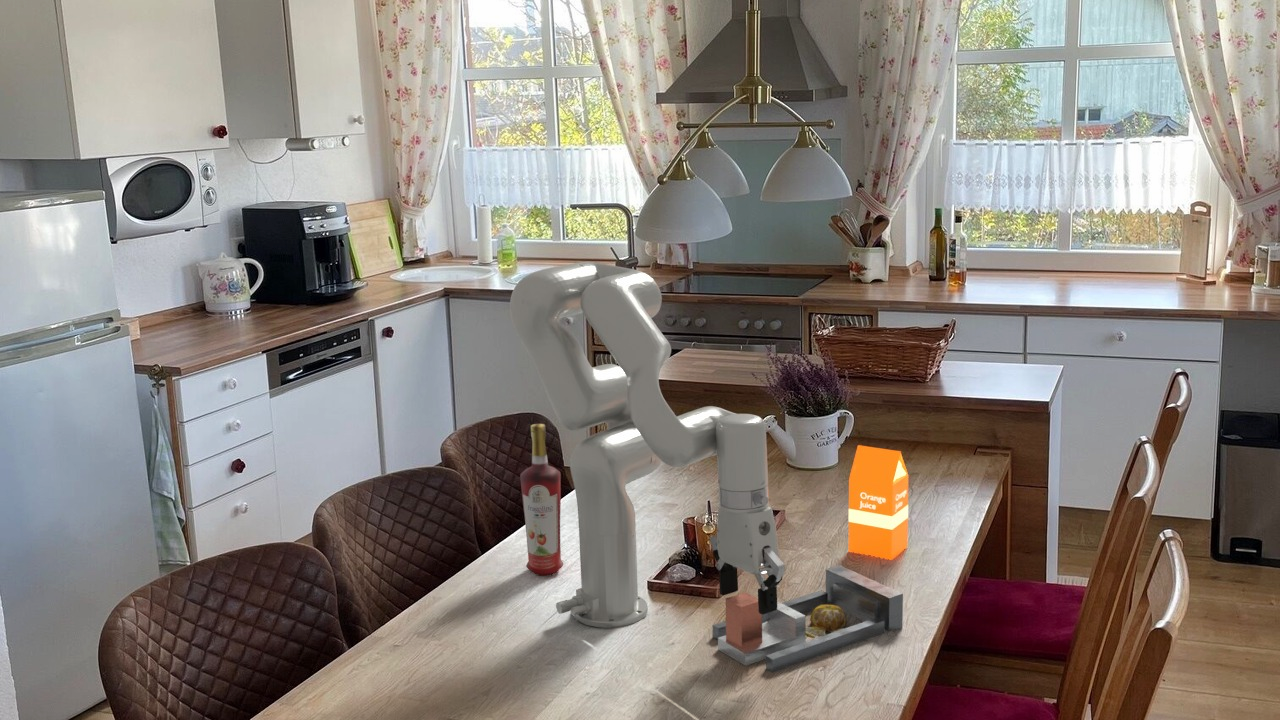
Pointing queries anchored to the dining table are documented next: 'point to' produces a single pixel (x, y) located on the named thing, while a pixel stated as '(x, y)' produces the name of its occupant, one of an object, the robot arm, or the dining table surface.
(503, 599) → the dining table surface
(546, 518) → the liquor
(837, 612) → the fruit
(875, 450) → the orange juice
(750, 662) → the ram
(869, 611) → the press frame
